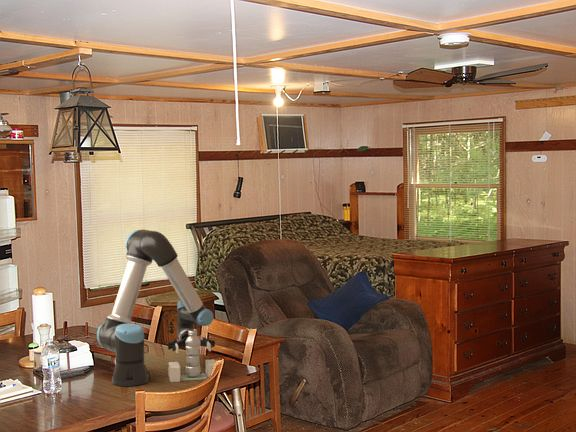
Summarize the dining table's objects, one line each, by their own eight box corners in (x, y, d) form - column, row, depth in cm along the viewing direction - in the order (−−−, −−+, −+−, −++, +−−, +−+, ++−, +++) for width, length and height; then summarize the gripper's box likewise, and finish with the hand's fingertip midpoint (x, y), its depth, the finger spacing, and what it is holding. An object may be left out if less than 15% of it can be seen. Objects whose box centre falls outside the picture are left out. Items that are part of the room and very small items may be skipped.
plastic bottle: (186, 373, 333) (186, 328, 331) (202, 374, 332) (201, 328, 330) (183, 378, 326) (183, 331, 324) (199, 378, 326) (199, 332, 324)
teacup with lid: (35, 367, 347) (35, 341, 347) (56, 366, 348) (56, 341, 348) (30, 374, 335) (29, 348, 335) (51, 373, 336) (51, 347, 336)
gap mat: (179, 375, 332) (179, 374, 332) (204, 374, 334) (204, 373, 334) (181, 380, 324) (181, 379, 324) (207, 379, 327) (207, 378, 327)
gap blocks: (168, 376, 332) (168, 362, 331) (214, 372, 336) (214, 359, 336) (170, 382, 322) (170, 367, 322) (218, 378, 327) (218, 364, 326)
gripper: (215, 345, 349) (223, 356, 329) (160, 348, 343) (164, 359, 323) (215, 328, 349) (223, 338, 328) (159, 331, 343) (163, 341, 322)
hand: (193, 349), depth 325 cm, fingers open, 13 cm apart
